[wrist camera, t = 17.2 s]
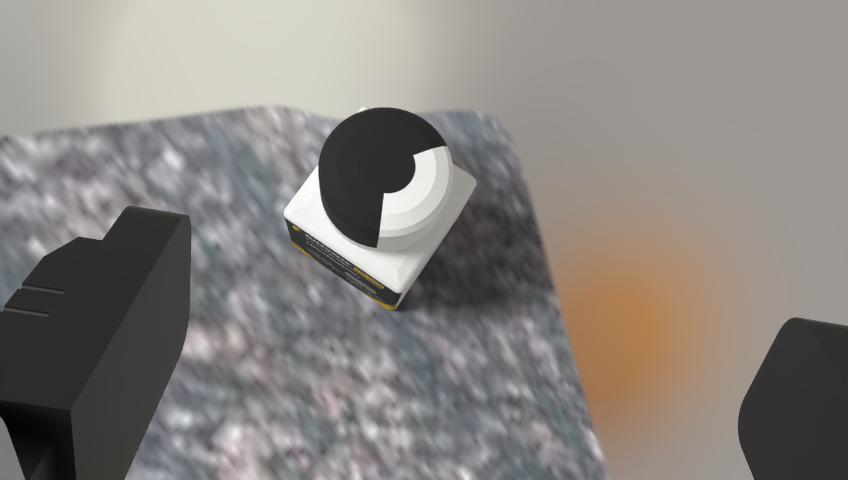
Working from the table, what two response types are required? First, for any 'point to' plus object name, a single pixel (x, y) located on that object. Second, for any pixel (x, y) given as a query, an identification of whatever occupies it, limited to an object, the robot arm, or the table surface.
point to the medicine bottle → (379, 202)
